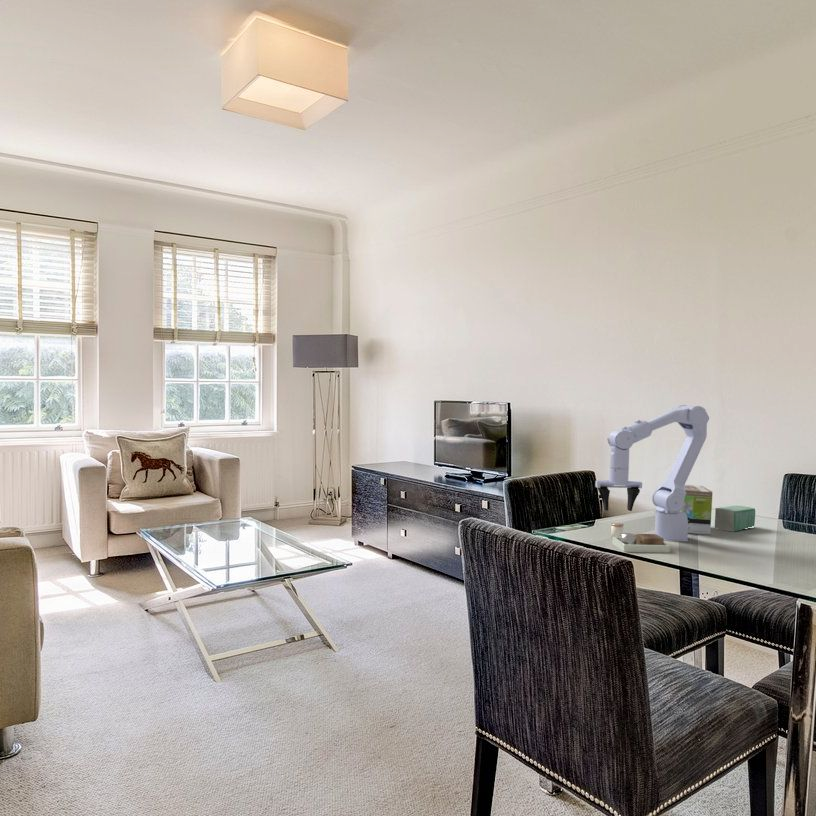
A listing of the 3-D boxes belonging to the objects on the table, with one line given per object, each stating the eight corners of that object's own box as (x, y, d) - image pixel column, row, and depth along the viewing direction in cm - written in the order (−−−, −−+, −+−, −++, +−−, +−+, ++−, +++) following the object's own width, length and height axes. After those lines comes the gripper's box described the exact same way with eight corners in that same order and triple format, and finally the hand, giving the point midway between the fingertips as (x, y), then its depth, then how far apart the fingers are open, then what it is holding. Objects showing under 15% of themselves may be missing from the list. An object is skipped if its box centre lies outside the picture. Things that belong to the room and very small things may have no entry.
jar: (620, 538, 219) (621, 522, 219) (624, 540, 215) (625, 525, 215) (609, 538, 219) (609, 522, 219) (612, 540, 215) (613, 525, 215)
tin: (633, 545, 207) (633, 533, 207) (638, 549, 203) (638, 536, 203) (618, 545, 207) (619, 532, 207) (623, 549, 203) (624, 536, 203)
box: (755, 528, 240) (756, 507, 239) (734, 532, 232) (734, 511, 232) (735, 524, 246) (736, 504, 245) (714, 528, 238) (714, 507, 238)
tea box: (711, 535, 227) (713, 491, 226) (679, 533, 229) (681, 489, 228) (701, 525, 242) (703, 484, 241) (671, 524, 244) (673, 483, 243)
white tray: (655, 545, 211) (656, 537, 211) (669, 553, 200) (669, 545, 200) (612, 544, 210) (612, 537, 210) (623, 552, 200) (624, 545, 200)
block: (655, 545, 208) (655, 534, 208) (663, 550, 202) (663, 538, 202) (635, 545, 208) (636, 533, 208) (643, 550, 202) (643, 538, 202)
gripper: (637, 466, 220) (635, 508, 221) (593, 465, 220) (591, 507, 220) (645, 469, 213) (643, 512, 214) (599, 468, 213) (598, 511, 213)
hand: (617, 510), depth 217 cm, fingers open, 7 cm apart
